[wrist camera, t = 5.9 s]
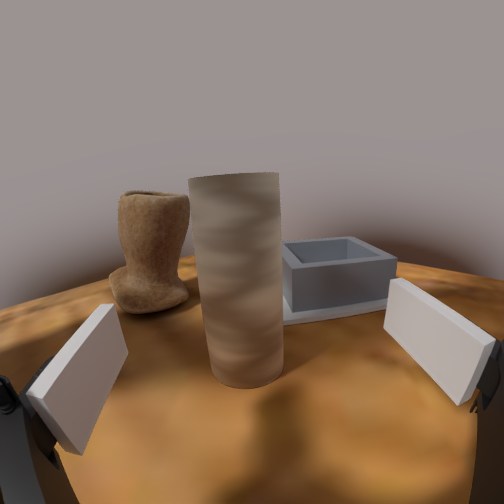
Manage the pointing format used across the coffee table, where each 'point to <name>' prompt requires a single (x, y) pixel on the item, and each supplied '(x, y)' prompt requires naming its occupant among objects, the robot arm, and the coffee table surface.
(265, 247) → the peg
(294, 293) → the well
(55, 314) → the coffee table surface
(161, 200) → the tan boot
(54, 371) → the robot arm
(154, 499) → the coffee table surface
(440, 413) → the coffee table surface
